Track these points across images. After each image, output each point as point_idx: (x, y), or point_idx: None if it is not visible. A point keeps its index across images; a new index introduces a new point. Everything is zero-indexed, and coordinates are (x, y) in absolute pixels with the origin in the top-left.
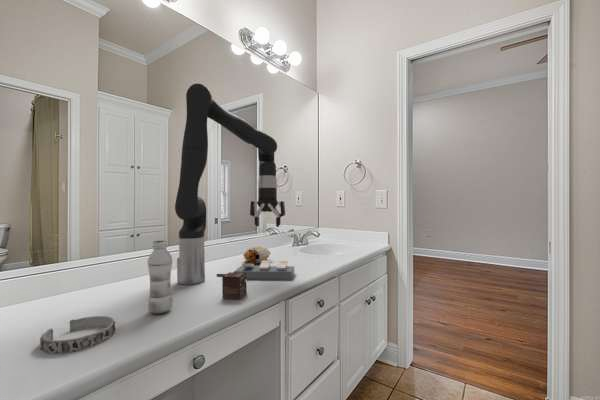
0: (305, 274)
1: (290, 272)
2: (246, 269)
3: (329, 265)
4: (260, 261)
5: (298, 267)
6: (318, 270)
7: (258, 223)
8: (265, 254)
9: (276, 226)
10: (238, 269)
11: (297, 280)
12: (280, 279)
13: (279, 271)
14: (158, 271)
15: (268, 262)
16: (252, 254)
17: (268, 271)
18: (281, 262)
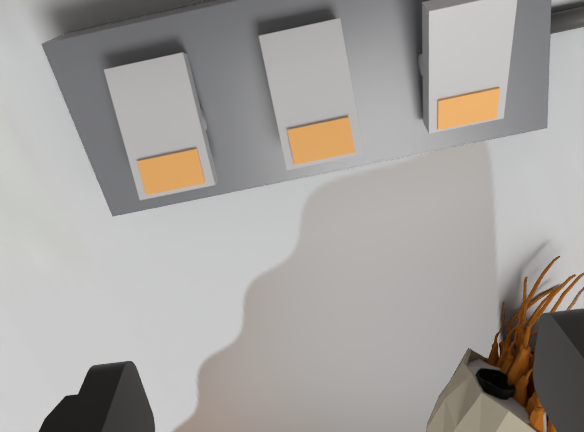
0: (48, 200)
1: (55, 41)
2: None
3: (9, 423)
4: (460, 364)
5: (177, 344)
6: (15, 309)
7: (563, 398)
8: (444, 421)
9: (124, 362)
10: (533, 10)
11: (21, 35)
12: (150, 14)
13: (149, 28)
14: None
15: (291, 129)
16: None
17: (243, 5)
18: (174, 153)
